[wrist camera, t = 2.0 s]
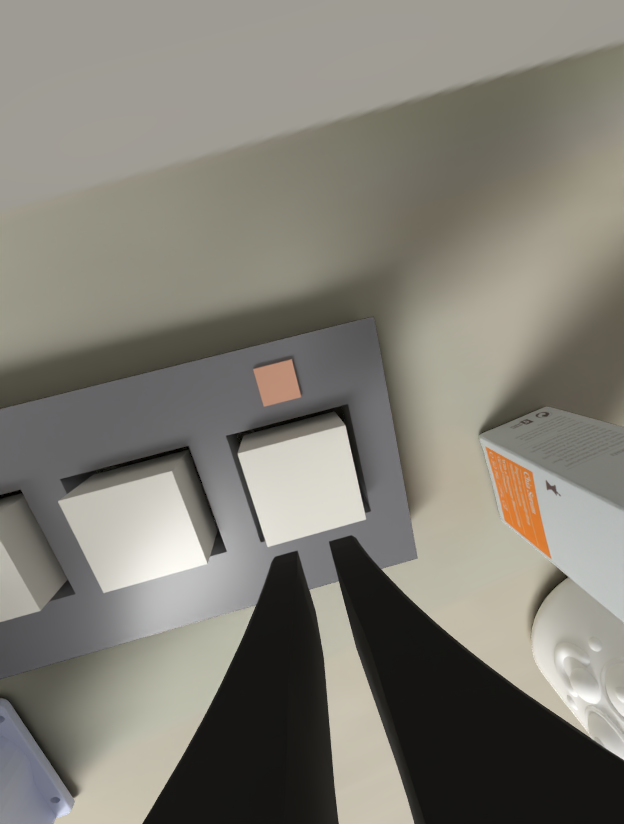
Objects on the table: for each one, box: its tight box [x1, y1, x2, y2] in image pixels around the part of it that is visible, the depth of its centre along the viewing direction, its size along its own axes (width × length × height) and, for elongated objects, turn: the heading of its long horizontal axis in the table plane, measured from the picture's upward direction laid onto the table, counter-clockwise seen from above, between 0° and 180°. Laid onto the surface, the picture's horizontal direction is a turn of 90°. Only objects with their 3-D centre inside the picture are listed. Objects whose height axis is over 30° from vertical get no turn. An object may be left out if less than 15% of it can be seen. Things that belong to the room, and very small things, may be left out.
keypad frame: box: [0, 317, 418, 679], centre depth 15 cm, size 12×23×2 cm, turn 103°
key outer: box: [237, 411, 366, 547], centre depth 14 cm, size 4×4×2 cm
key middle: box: [58, 450, 218, 593], centre depth 14 cm, size 4×4×2 cm
